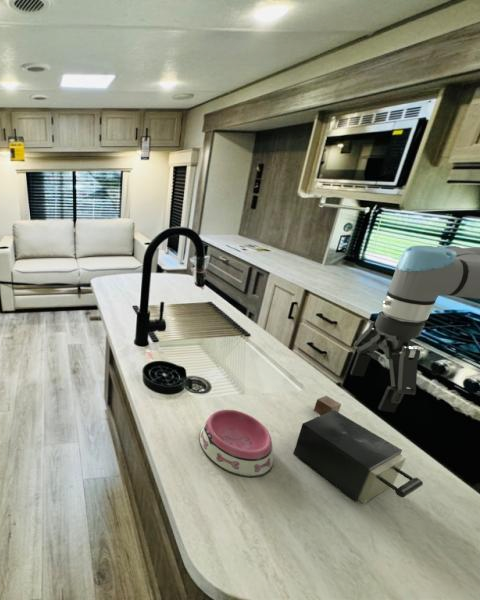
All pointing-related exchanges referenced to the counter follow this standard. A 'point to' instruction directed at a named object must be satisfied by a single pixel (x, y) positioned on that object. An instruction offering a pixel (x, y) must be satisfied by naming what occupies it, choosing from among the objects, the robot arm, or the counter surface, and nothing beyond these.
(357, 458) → the cabinet
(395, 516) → the counter surface
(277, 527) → the counter surface
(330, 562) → the counter surface
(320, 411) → the block
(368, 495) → the drawer
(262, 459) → the dog bowl
